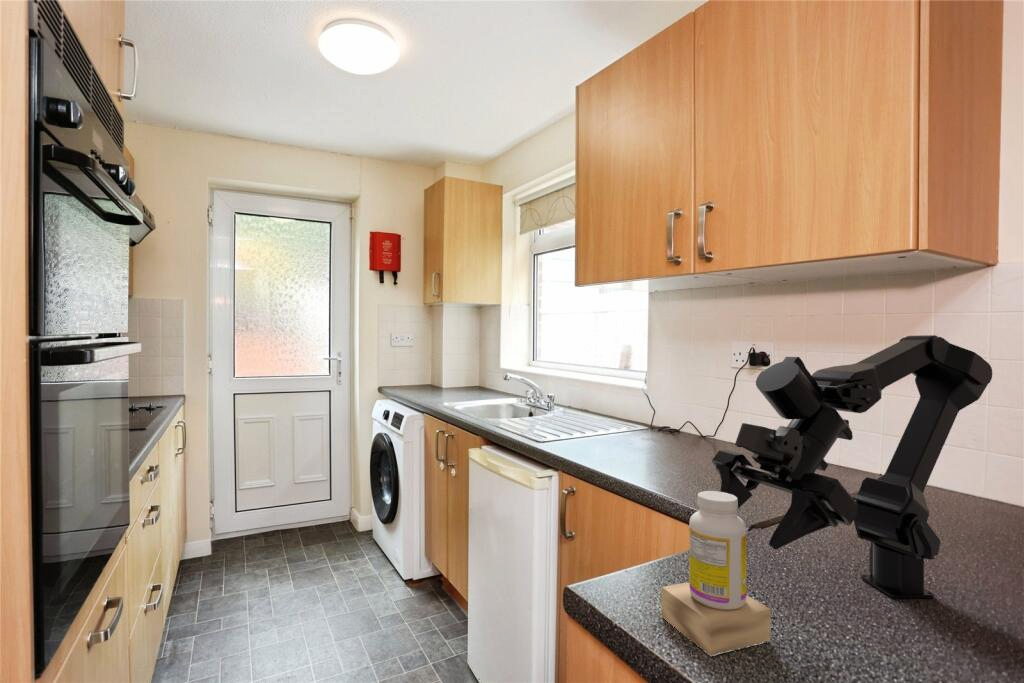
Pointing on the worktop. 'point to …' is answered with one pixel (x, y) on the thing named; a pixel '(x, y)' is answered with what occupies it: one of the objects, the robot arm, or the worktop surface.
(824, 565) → the worktop surface
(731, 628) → the oak block
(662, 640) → the worktop surface
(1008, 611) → the worktop surface
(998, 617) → the worktop surface
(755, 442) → the robot arm
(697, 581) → the supplement bottle
